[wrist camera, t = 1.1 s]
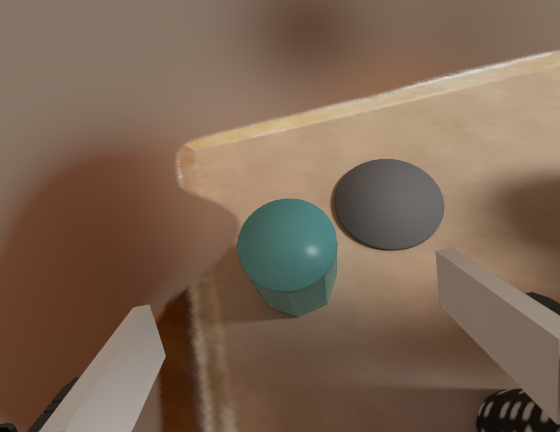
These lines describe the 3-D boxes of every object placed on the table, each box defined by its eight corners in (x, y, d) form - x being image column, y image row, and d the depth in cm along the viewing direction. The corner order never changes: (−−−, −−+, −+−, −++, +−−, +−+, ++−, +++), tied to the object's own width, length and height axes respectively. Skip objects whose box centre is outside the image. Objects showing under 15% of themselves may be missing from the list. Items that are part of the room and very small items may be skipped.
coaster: (377, 146, 51) (377, 143, 50) (464, 197, 45) (465, 194, 44) (314, 208, 47) (314, 205, 47) (400, 272, 41) (401, 270, 41)
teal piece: (345, 255, 43) (349, 213, 34) (320, 329, 39) (316, 305, 30) (276, 232, 46) (261, 188, 37) (245, 299, 42) (220, 269, 33)
